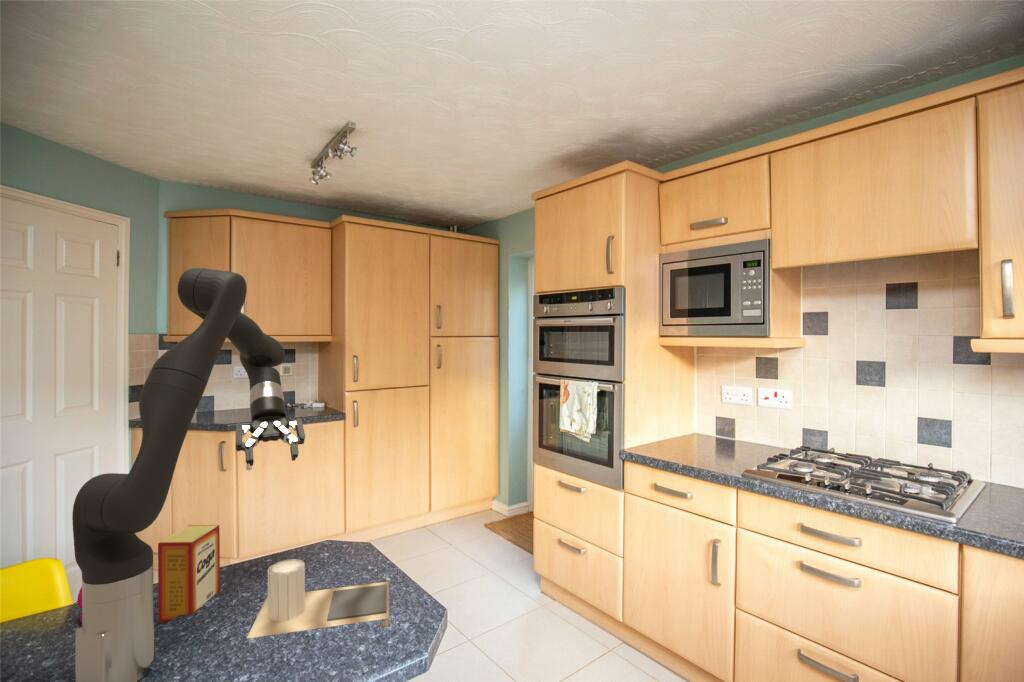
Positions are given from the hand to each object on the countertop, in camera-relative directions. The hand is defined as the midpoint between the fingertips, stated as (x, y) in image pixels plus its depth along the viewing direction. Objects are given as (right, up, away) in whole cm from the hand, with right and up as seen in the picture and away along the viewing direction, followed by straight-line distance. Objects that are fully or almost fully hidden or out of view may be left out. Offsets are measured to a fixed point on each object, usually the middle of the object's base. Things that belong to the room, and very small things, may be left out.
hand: (273, 461), depth 109 cm
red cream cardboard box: (-13, -29, -8) cm, 33 cm away
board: (+16, -28, -10) cm, 34 cm away
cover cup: (+9, -27, -12) cm, 31 cm away
